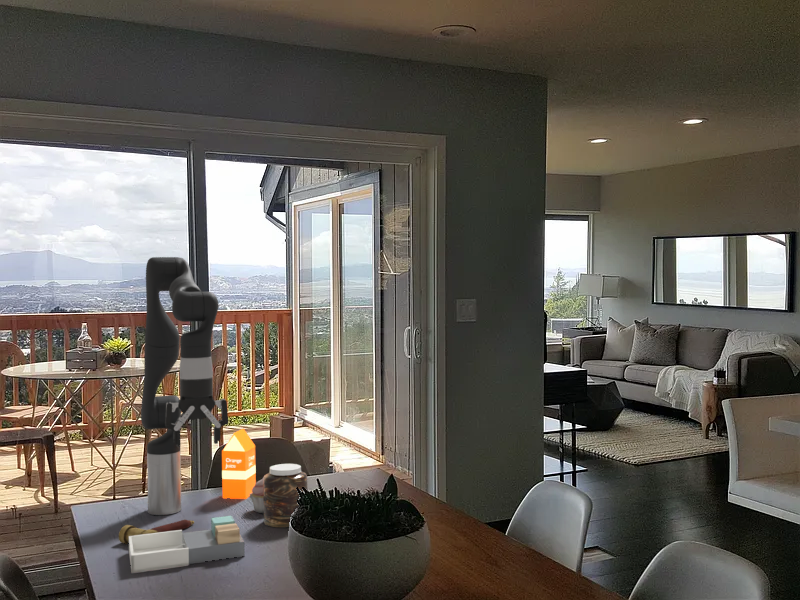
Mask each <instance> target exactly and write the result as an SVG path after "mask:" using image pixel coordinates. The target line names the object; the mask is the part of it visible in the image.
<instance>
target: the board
mask: <svg viewBox="0 0 800 600" xmlns="http://www.w3.org/2000/svg"><path fill="white" fill-rule="evenodd" d="M182 545H183V548H189V565H192V564H193V565H194V564H199V563H206V562H205V561H208V562H213V561H212V560H215V561H220V560H219V559H222V560H227V559H226V558H229V559H235V558H234V557H237V558H243V557H242V556H244V557H245V554H246V553H245V541H244V538H243V537H242V535H241V534H240V542H234V543H226V544H218V542H217V540H216V538H215V536H214V534H213V532H212V530H211V529H204V530H195V531H194V530H193V531H187V532H182Z"/></svg>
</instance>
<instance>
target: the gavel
mask: <svg viewBox="0 0 800 600" xmlns="http://www.w3.org/2000/svg"><path fill="white" fill-rule="evenodd" d="M194 524H195V521H194V520H190V519H189V520H188V519H182V520H178V521H174V522H170V523H167V524H163V525H159V526H156V527H152V528H149V529H145V528H144V529H143V528H137V527H136V526H135V525H132V524H131V525H130V524H125V525H123V526H122V527H121V528H120V530H119V532H118V541H119V542H120V543H121V544H124V543H125V545H129V544H128V543H129V536H134V535H143V534H151V533H159V532H167V531H176V530H182V531H183V529H184V530H186V529H188V528H189V527H191V526H192V525H194Z"/></svg>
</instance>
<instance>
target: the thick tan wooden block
mask: <svg viewBox="0 0 800 600" xmlns="http://www.w3.org/2000/svg"><path fill="white" fill-rule="evenodd" d="M240 531H241V530H240V528H239V526H238V524H237V523H236V522H235V524H227V525H218V526H215V538H216V540H217V542H218V544H226V543H234V542H240V535H241V534H240V533H241V532H240Z"/></svg>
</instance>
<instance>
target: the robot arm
mask: <svg viewBox="0 0 800 600" xmlns="http://www.w3.org/2000/svg"><path fill="white" fill-rule="evenodd" d="M192 273H193V272H192V270H191V267H190V265H189V262H188V261H187V260H186V259H185V258H183V257H177V256H170V257H169V256H167V257H166V256H155V257H154V256H153V257H150V258H149V259H148V260H147V262H146V268H145V289H146V290H145V292H146V294H145V295H146V299H145V300H146V317H145V318H146V319H145V333H144V362H143V363H144V364H143V365H144V372H143V373H144V377H143V387H142V398H141V407H140V420H141V425H142V427H143V428H144V429H146V430H156V429H157V430H158V429H159V430H160V429H167V430H166V431H165V433H163V434H162V435H161V436H159V437H157V438H155V439H152V440H149V442H147V445H146V455H147V456H146V460H147V467H146V468H147V512H148V514H149V515H151V516H152V515H153V516H154V515H155V516H166V515H172V514H176V513H178V512H180V511H181V510H182V467H181V466H182V464H181V463H182V462H181V445H182V444H181V428H182V426H183V425H184V424H185V423H186V421H187V420H190V421H195V420H205V419H206V418H207V419H209V420H210V421H209V422H211V423H212V424H213V444H215V445H217V444H219V442H221V439H222V438H221V428H222V427H223V426H226V425H228V424H229V414H228V413H229V410H228V401H227V400H226V399H225V398H221V399H218V400H215V399H214V386H213V385H214V377H213V376H214V371H213V361H212V336H213V335H212V334H213V331H214V325H215V321H216V318H217V314H218V312H219V311H218V310H219V300H218V297H217V296H216V294H215V293H213V292H212V291H202V290H201V289H200V287H199V286H198V285H197V284H196V282H195V280H194V277H193V274H192ZM161 292H168V294H169V297H170V300H171V301H172V303H171V311H172V315H173V317H174V318H175V319H176V320H177V321H179V322H184V323H185V322H201V324H200V326H198V328H197V329H195V330H190V331H186V332H184V333H182V334H181V335H180V333H179V332H180V331H179V330H178V328H177V327H176V325H175V323H174V322H173V320H172V319H171V318H170V316H169V315H168V314H167V312H166V310H165V309H164V306H163V305H162V303H161V299H160V293H161ZM179 355H180V361H179V397H178V396H177V395H160V396H157V392H158V389H159V387H160V385H161V383H162V381H163V380H164V379H165V377H166V376H167V375H168V373H170V372H171V370H172V368H173V367H174V366H175V364H176V363H177V362H178V361H177V360H178V358H179ZM215 405H216V406H217V408H218V409H219V410H220V413H221V419H220V420H218V419H217V418H216V417H215V416H214V414H213V413H212V410H213V409H215V407H216V406H215Z"/></svg>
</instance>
